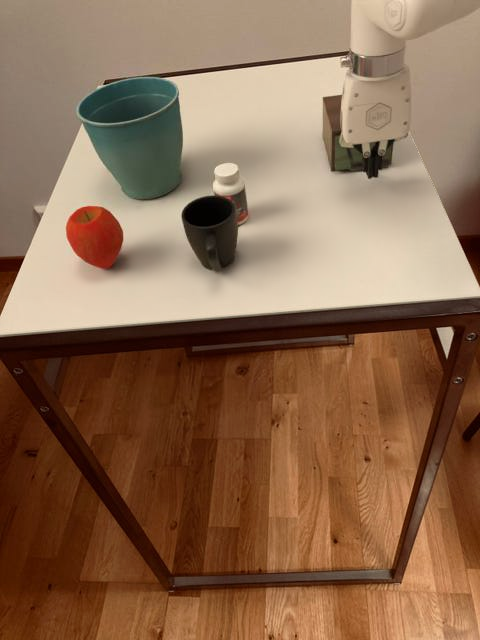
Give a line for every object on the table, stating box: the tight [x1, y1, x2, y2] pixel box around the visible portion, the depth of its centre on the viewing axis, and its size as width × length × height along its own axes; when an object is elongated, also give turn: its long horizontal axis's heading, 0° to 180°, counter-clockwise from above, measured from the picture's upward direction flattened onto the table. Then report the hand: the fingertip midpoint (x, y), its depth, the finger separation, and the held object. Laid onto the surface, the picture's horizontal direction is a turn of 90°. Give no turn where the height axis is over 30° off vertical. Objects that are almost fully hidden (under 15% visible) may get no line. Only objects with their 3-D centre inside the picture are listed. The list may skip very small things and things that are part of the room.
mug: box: [180, 194, 239, 273], centre depth 78 cm, size 8×12×10 cm
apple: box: [65, 205, 124, 270], centre depth 81 cm, size 9×8×11 cm
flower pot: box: [75, 76, 184, 200], centre depth 94 cm, size 18×18×17 cm
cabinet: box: [322, 94, 394, 172], centre depth 97 cm, size 14×11×8 cm
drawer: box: [335, 134, 392, 171], centre depth 94 cm, size 19×10×6 cm, turn 1°
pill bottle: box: [212, 162, 250, 226], centre depth 86 cm, size 5×5×10 cm
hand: (371, 173), depth 86 cm, fingers closed
